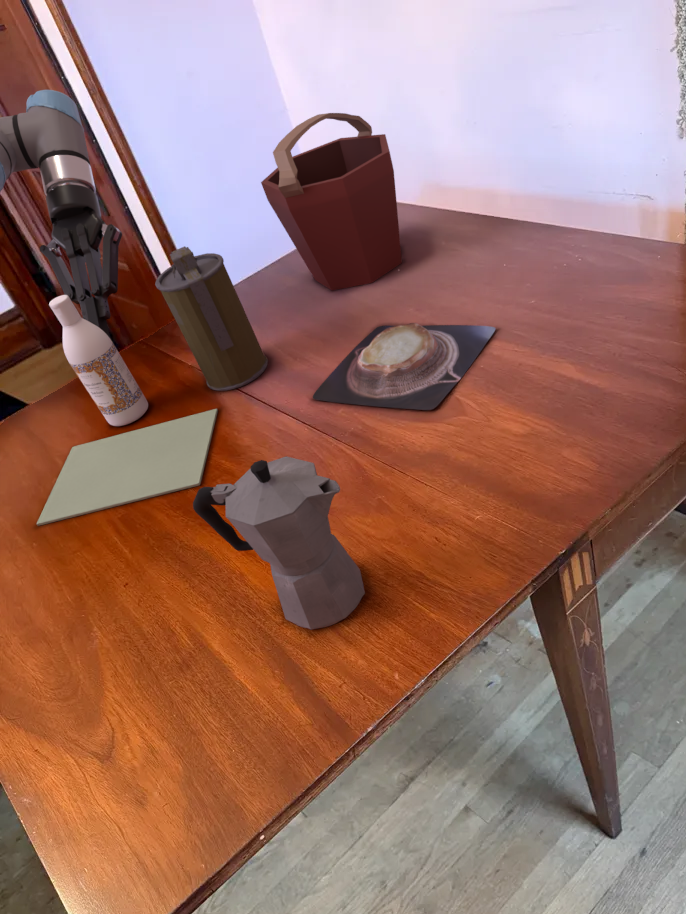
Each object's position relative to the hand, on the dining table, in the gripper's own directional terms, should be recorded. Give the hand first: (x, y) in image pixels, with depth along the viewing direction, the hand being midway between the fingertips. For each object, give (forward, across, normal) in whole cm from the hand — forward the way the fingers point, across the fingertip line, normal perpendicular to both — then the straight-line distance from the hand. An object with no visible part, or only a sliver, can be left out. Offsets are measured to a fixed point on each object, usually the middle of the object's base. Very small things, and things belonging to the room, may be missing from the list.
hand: (101, 340), depth 115 cm
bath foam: (+11, 0, -4) cm, 12 cm away
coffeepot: (+46, -33, +30) cm, 64 cm away
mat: (+22, -4, +6) cm, 23 cm away
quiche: (+16, -45, +1) cm, 48 cm away
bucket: (-11, -38, -27) cm, 48 cm away
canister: (+8, -18, -7) cm, 21 cm away
